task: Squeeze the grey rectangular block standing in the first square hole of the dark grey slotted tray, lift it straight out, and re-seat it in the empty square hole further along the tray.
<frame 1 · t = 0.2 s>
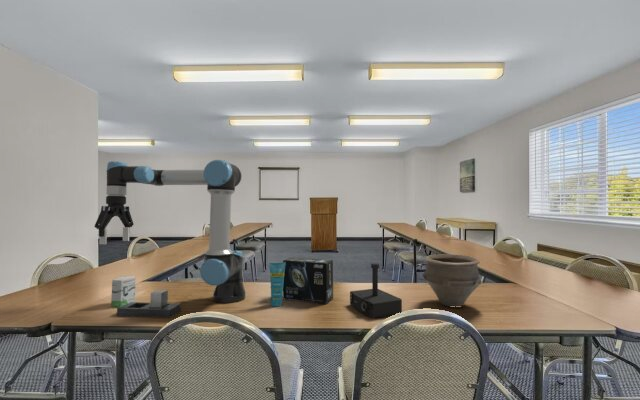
hand: (114, 242, 133), 28 cm above the table, fingers open, 13 cm apart
planter: (452, 305, 135), on the table
box: (307, 299, 143), on the table
dark grey slotted tray: (149, 313, 121), on the table
grey rectangular block: (158, 313, 121), resting in dark grey slotted tray
tube: (276, 305, 133), on the table
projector: (373, 310, 128), on the table
ink box: (123, 304, 132), on the table
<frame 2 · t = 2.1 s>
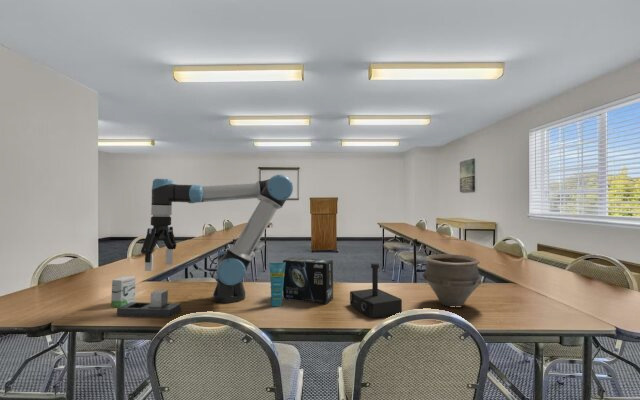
hand: (159, 267, 121), 19 cm above the table, fingers open, 13 cm apart
nothing on the table moved.
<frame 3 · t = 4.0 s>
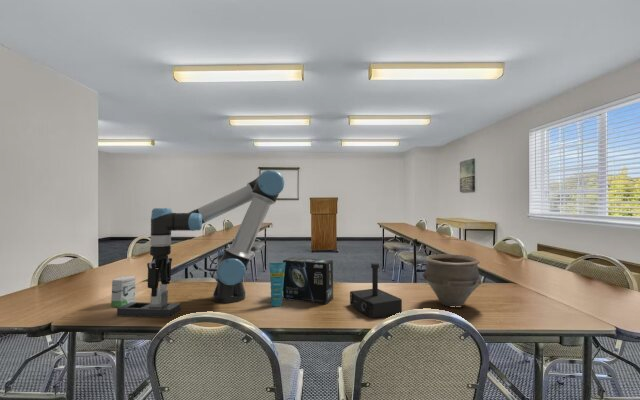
hand: (159, 301, 121), 5 cm above the table, fingers closed on grey rectangular block, 4 cm apart
grey rectangular block: (158, 313, 121), resting in dark grey slotted tray, touching gripper
everything else where it was.
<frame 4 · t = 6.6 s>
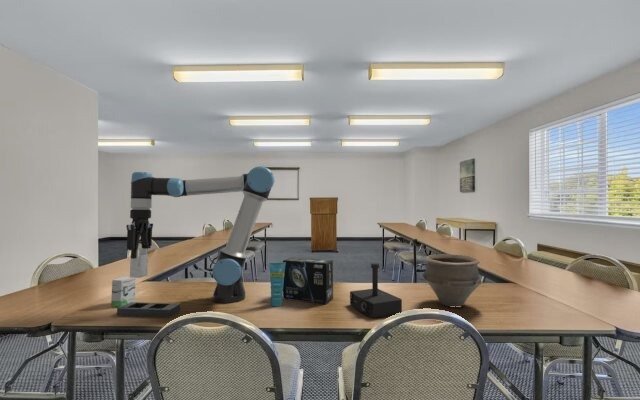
hand: (139, 265, 122), 20 cm above the table, fingers closed on grey rectangular block, 4 cm apart
grey rectangular block: (138, 276, 122), point 15 cm above the table, touching gripper
everything else where it was.
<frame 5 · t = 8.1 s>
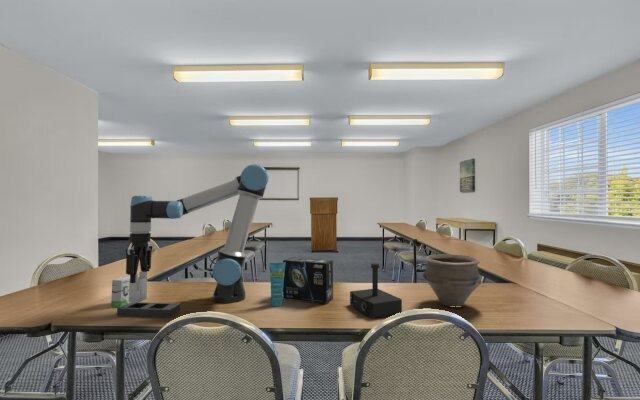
hand: (138, 288, 122), 10 cm above the table, fingers closed on grey rectangular block, 4 cm apart
grey rectangular block: (137, 300, 122), point 5 cm above the table, touching gripper
everything else where it was.
when the fingers open (6 cm above the table, at t = 9.2 s): grey rectangular block stays where it is, resting in dark grey slotted tray.
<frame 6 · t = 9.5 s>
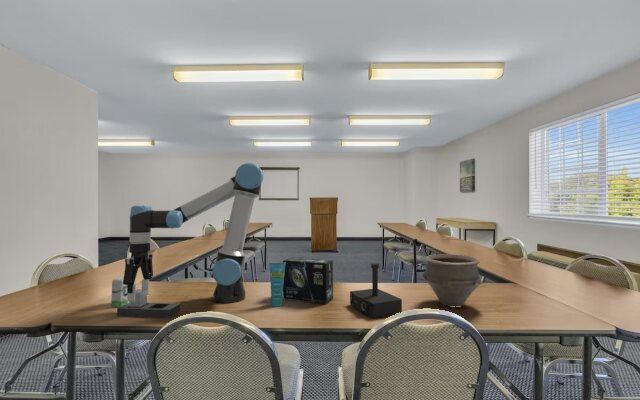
hand: (138, 297, 122), 6 cm above the table, fingers open, 8 cm apart
grey rectangular block: (137, 312, 121), resting in dark grey slotted tray
everything else where it was.
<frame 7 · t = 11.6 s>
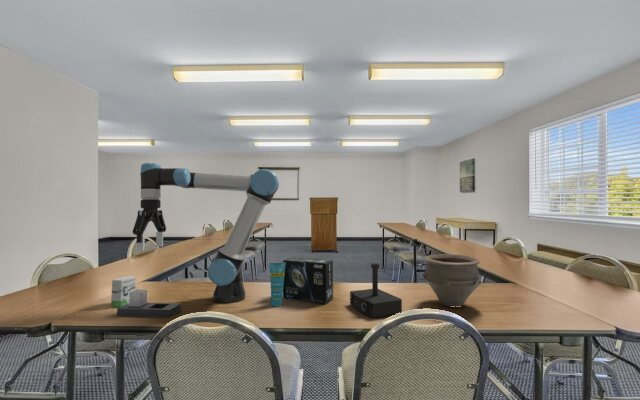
hand: (150, 248, 127), 26 cm above the table, fingers open, 13 cm apart
nothing on the table moved.
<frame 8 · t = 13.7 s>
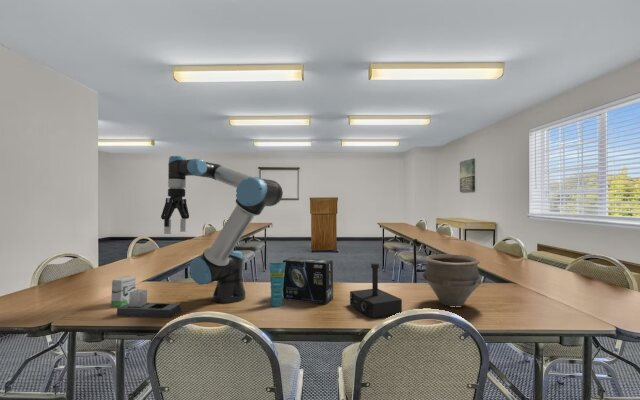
hand: (175, 232, 140), 32 cm above the table, fingers open, 13 cm apart
nothing on the table moved.
at the end: grey rectangular block 0.0 cm from the target spot on the dark grey slotted tray, point 0.0 cm above the dark grey slotted tray's base; grey rectangular block tilted 0°; the gripper is holding nothing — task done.
